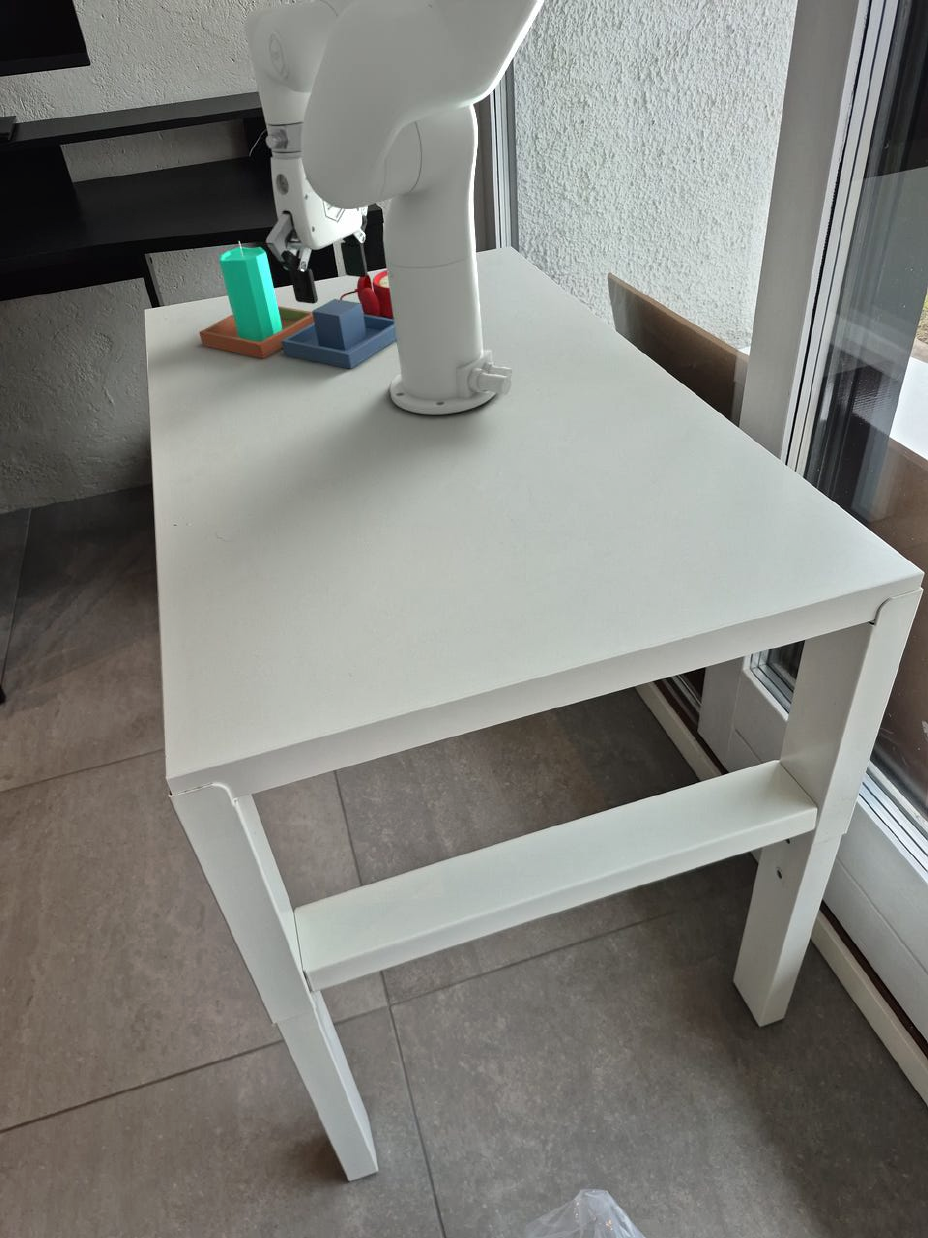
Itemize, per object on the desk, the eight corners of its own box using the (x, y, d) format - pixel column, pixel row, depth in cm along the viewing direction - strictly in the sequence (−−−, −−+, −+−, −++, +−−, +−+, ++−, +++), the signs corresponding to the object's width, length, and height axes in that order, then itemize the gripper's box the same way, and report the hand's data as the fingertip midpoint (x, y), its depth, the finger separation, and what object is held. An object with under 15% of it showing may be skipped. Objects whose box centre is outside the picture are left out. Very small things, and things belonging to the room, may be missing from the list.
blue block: (366, 337, 118) (361, 303, 115) (345, 350, 115) (339, 315, 112) (340, 332, 120) (334, 298, 117) (318, 345, 117) (311, 311, 114)
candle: (273, 341, 119) (252, 248, 112) (231, 341, 120) (207, 249, 113) (288, 323, 124) (269, 232, 116) (248, 324, 125) (226, 234, 117)
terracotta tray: (319, 326, 123) (316, 312, 122) (263, 358, 116) (259, 344, 115) (259, 315, 128) (256, 301, 127) (202, 345, 121) (198, 331, 120)
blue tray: (404, 334, 118) (402, 320, 117) (351, 369, 111) (348, 354, 110) (338, 322, 123) (336, 309, 122) (284, 354, 117) (280, 340, 115)
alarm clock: (458, 284, 120) (345, 276, 117) (452, 330, 124) (343, 323, 121) (444, 260, 128) (338, 251, 125) (439, 304, 132) (336, 297, 128)
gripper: (274, 155, 95) (309, 315, 105) (374, 119, 106) (397, 268, 116) (224, 154, 99) (263, 309, 109) (326, 119, 109) (353, 264, 120)
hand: (332, 288), depth 113 cm, fingers open, 9 cm apart
